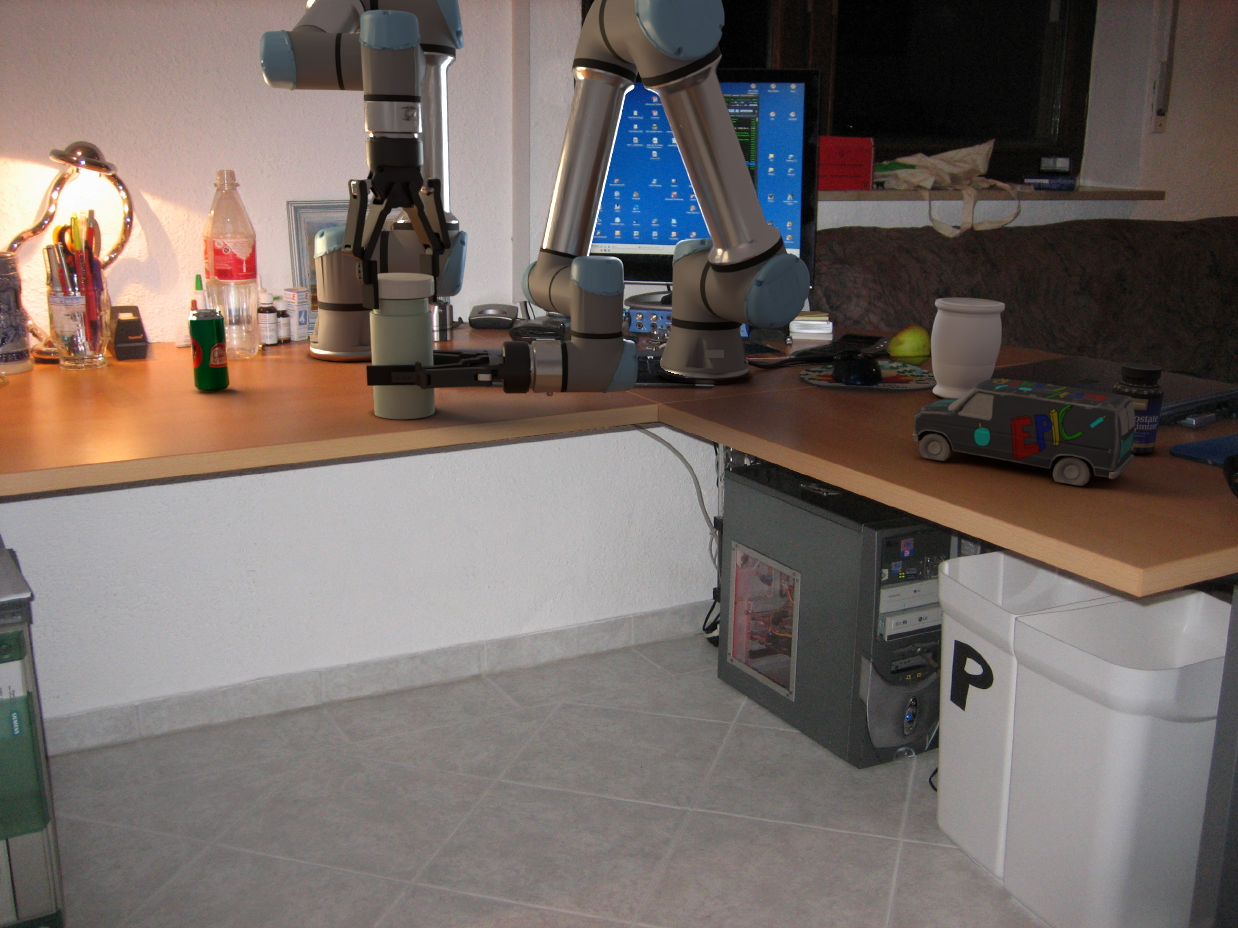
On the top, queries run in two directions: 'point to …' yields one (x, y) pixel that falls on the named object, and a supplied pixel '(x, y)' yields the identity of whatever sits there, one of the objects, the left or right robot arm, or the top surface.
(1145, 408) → the pill bottle
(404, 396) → the screw-top jar
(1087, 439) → the toy van
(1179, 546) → the top surface
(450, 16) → the left robot arm
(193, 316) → the soda can
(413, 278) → the lid
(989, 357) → the jar
